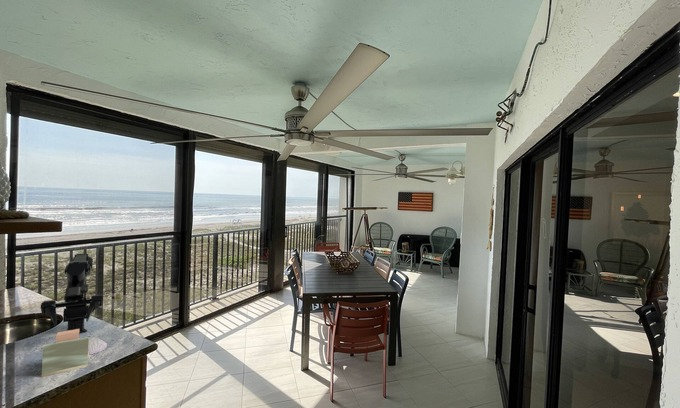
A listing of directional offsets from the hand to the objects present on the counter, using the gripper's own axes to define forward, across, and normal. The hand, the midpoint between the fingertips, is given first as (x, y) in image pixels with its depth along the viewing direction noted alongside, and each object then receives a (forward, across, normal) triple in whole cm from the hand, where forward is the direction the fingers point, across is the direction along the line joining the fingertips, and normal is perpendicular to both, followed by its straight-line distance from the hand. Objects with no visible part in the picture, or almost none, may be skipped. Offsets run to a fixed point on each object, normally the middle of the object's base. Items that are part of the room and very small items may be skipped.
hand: (71, 323), depth 115 cm
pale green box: (+15, 0, +3) cm, 15 cm away
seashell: (+8, +6, +10) cm, 15 cm away
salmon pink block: (+15, 0, +2) cm, 15 cm away
